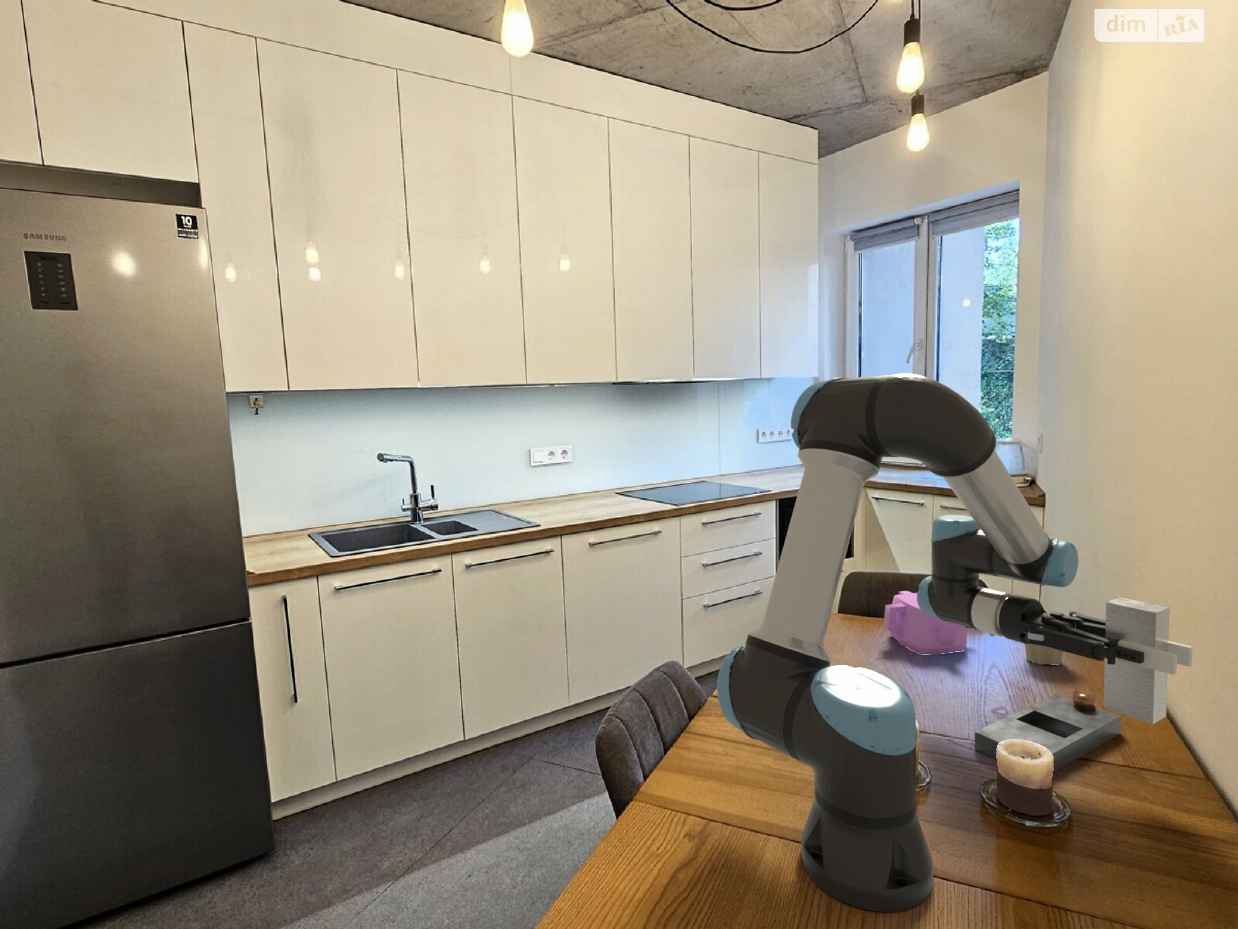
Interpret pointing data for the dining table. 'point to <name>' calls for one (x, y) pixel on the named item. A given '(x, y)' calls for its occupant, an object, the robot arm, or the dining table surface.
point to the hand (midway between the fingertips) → (1182, 660)
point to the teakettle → (921, 627)
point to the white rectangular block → (1131, 683)
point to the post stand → (1055, 727)
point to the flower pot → (1043, 654)
